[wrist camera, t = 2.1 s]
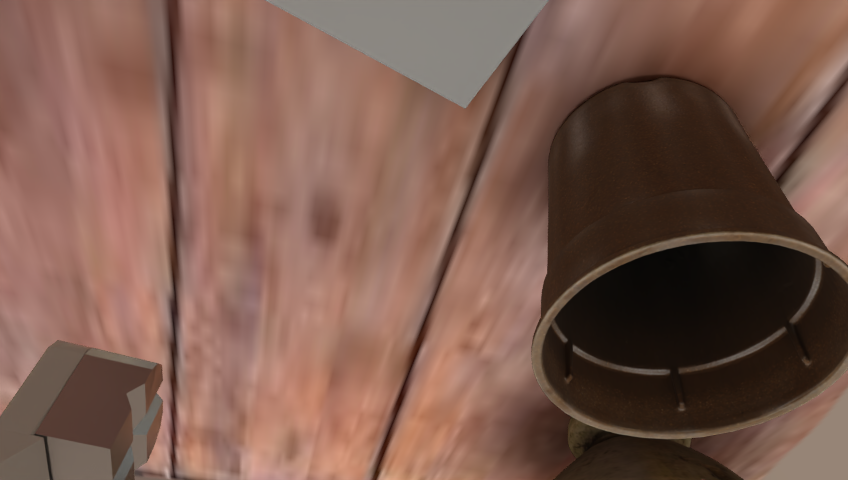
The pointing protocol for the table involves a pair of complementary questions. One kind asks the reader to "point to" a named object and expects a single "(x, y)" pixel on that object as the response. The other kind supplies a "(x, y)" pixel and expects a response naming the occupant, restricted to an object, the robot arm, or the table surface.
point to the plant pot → (679, 273)
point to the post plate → (426, 36)
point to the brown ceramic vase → (636, 458)
